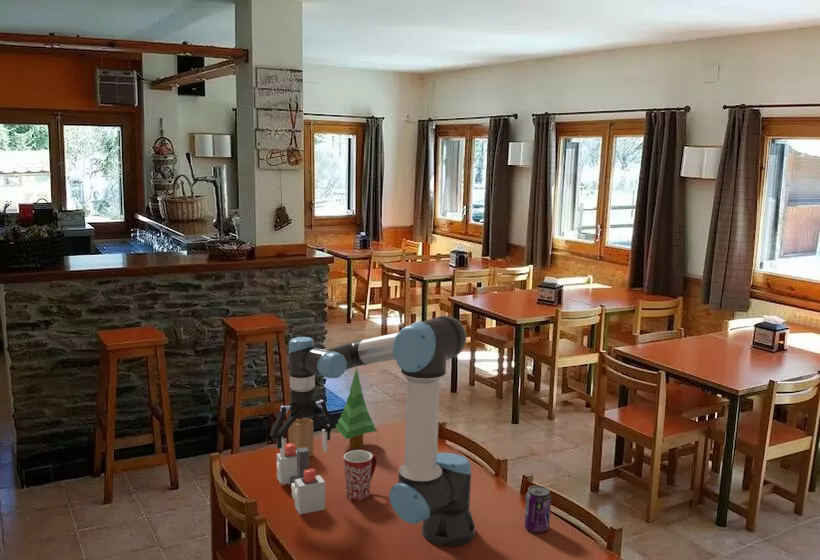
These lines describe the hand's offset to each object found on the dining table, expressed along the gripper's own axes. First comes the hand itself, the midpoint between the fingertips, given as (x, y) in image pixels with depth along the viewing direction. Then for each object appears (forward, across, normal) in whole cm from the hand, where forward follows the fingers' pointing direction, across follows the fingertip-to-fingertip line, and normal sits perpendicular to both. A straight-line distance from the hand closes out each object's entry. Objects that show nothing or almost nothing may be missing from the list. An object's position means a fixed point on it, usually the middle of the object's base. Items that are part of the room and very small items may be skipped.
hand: (303, 454), depth 226 cm
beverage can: (+16, -57, +44) cm, 73 cm away
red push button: (+5, 0, -14) cm, 15 cm away
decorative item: (+15, -9, -32) cm, 37 cm away
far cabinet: (+15, 0, -14) cm, 21 cm away
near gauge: (+6, 0, +6) cm, 8 cm away
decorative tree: (+15, -30, -32) cm, 46 cm away
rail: (+15, 0, -4) cm, 15 cm away
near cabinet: (+15, 0, +6) cm, 16 cm away
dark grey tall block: (+15, 0, -1) cm, 15 cm away
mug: (+15, -18, +4) cm, 24 cm away
